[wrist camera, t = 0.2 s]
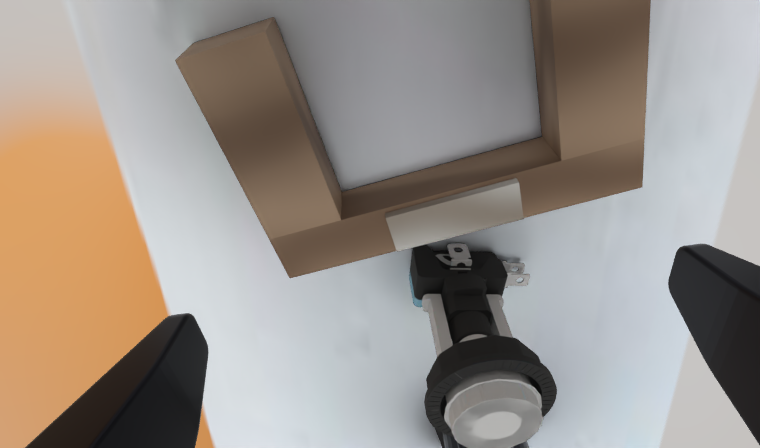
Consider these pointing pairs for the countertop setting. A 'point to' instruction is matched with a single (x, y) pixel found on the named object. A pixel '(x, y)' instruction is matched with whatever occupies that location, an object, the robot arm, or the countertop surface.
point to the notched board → (439, 183)
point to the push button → (477, 350)
